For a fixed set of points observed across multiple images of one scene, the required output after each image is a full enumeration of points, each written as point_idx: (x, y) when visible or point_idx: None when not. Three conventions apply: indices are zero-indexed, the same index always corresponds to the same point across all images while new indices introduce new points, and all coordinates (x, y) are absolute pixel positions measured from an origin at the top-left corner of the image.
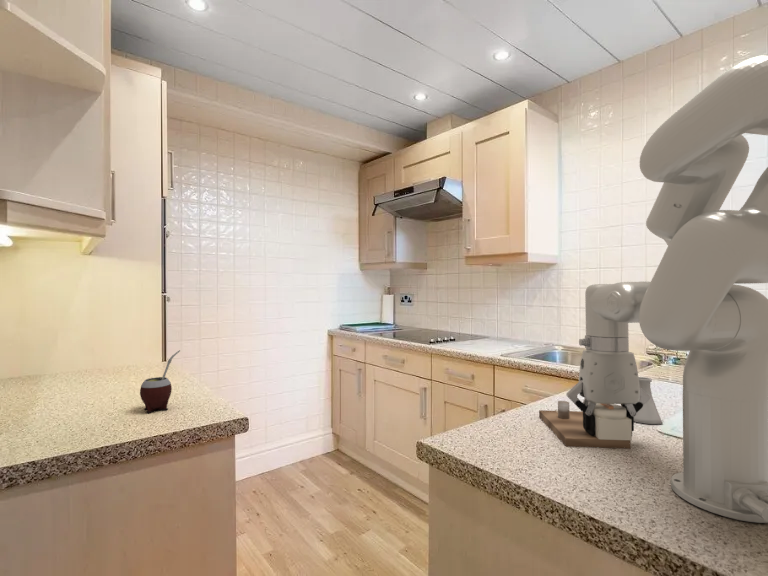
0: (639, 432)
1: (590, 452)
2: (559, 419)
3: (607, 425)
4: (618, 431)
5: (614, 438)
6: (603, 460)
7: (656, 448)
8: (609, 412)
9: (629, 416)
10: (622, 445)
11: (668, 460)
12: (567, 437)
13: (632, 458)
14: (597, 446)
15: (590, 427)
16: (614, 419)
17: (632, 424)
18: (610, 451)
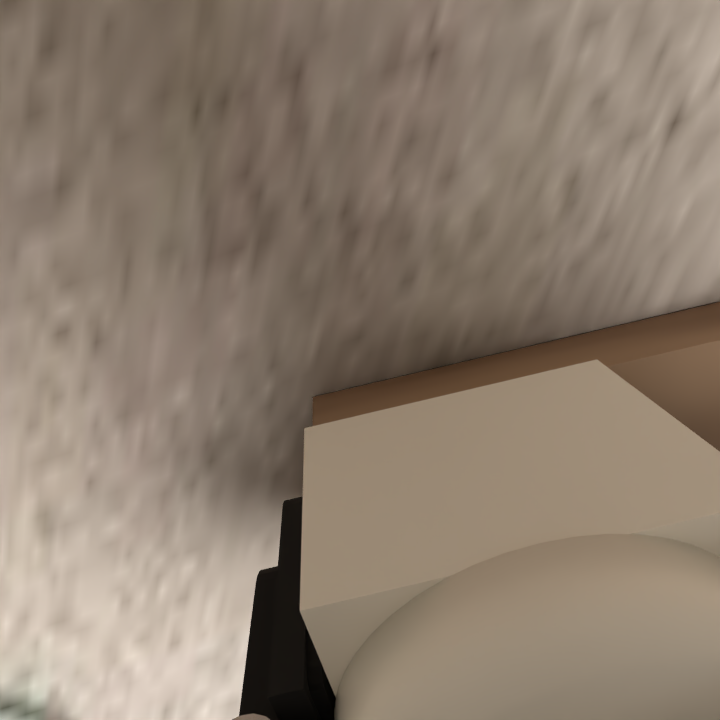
0: (191, 687)
1: (667, 208)
2: None
3: (596, 463)
4: (442, 451)
5: (463, 397)
6: (635, 28)
7: (117, 468)
8: (701, 637)
9: (298, 705)
10: (377, 393)
11: (45, 236)
12: None
13: (349, 179)
14: (569, 341)
15: None
16: (555, 540)
17: (264, 623)
18: (488, 289)
